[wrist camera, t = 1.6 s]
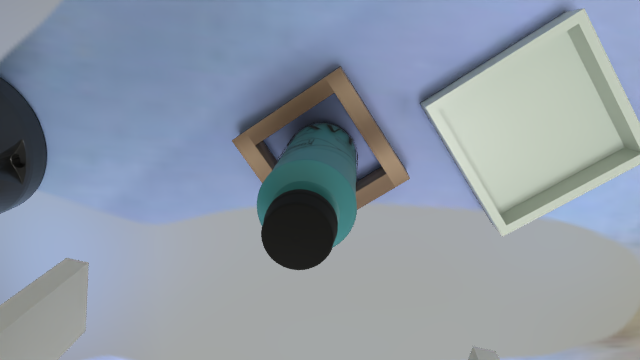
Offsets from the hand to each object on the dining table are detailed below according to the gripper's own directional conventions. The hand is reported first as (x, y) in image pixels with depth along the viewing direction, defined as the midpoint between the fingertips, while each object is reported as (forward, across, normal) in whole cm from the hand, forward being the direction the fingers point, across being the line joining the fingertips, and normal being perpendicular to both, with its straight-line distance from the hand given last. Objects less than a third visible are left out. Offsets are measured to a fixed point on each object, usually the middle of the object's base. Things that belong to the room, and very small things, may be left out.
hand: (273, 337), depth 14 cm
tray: (+28, +18, +6) cm, 34 cm away
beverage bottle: (+28, 0, 0) cm, 28 cm away
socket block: (+28, 0, 0) cm, 28 cm away
